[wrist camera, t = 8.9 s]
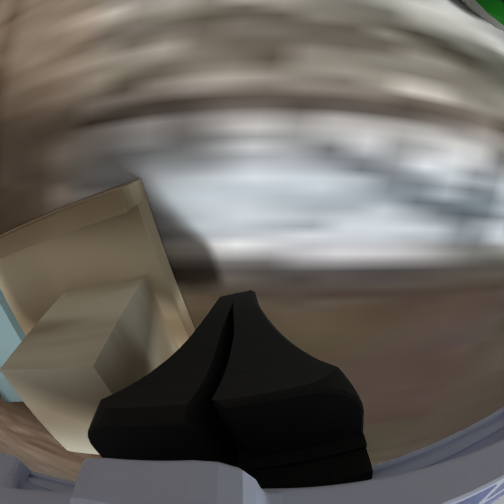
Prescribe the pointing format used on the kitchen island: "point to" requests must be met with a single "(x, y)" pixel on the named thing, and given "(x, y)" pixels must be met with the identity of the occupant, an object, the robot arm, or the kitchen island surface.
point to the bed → (89, 256)
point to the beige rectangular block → (88, 354)
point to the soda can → (488, 10)
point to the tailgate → (8, 346)
